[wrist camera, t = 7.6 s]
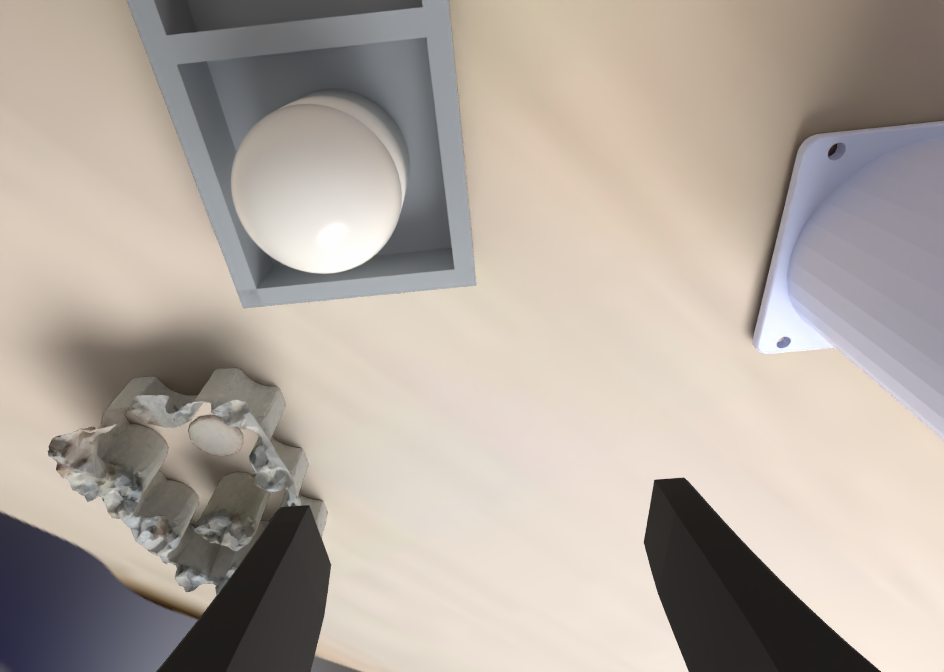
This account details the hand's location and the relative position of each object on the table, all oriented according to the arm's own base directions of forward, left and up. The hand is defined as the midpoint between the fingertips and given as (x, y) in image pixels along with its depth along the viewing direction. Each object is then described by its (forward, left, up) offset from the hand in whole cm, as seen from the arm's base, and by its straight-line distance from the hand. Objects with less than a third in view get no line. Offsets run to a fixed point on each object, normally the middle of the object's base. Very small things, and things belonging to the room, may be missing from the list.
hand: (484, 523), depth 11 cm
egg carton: (+11, +7, -10) cm, 16 cm away
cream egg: (+3, -6, -9) cm, 11 cm away
